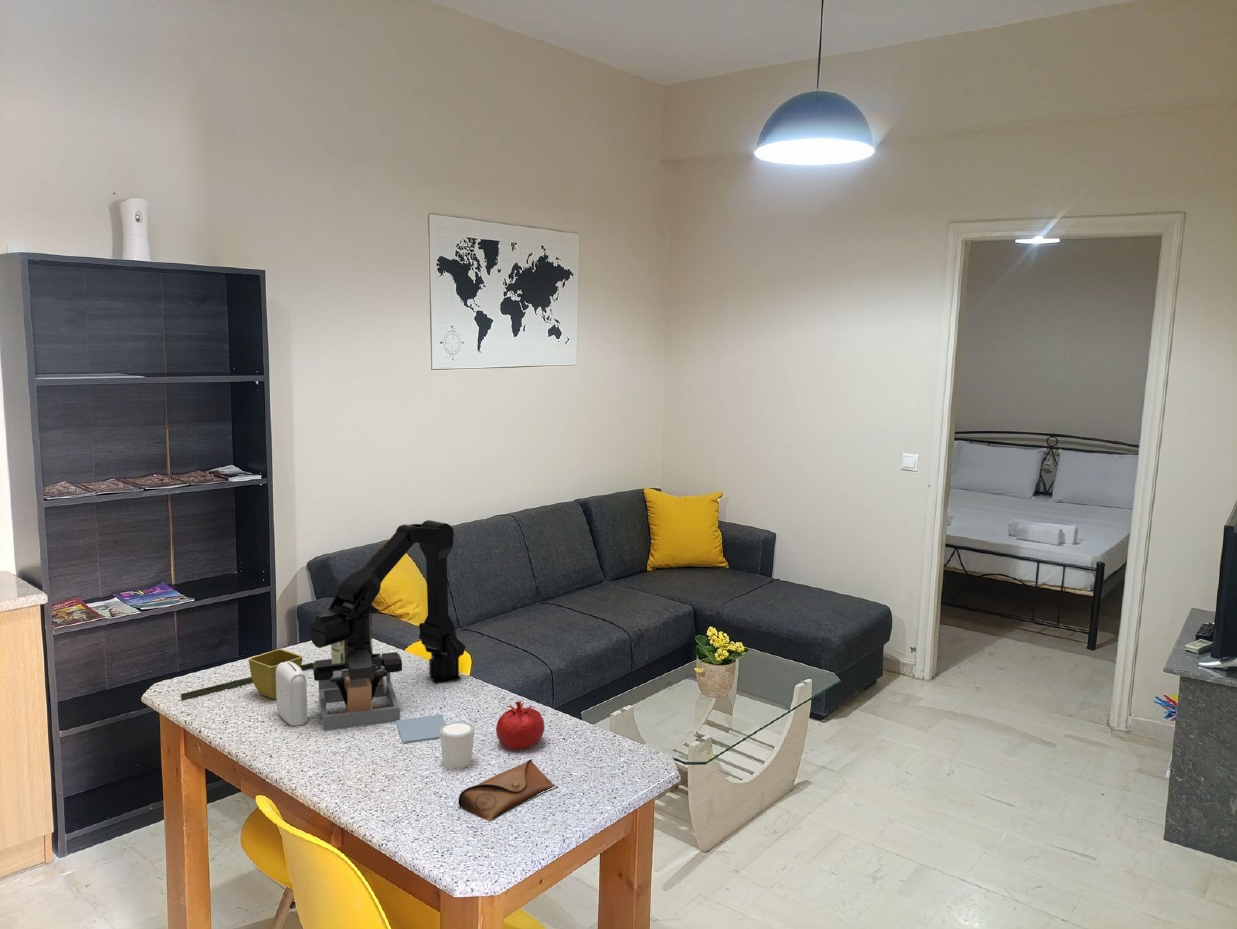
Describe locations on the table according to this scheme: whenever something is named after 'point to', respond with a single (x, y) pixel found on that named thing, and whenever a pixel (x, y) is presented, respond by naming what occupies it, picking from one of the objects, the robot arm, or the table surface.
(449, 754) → the white cup
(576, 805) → the table surface
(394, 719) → the grey open frame
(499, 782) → the sunglasses case
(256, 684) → the flower pot
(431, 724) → the mat
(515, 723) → the pomegranate
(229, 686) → the rod
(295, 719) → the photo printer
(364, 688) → the block
